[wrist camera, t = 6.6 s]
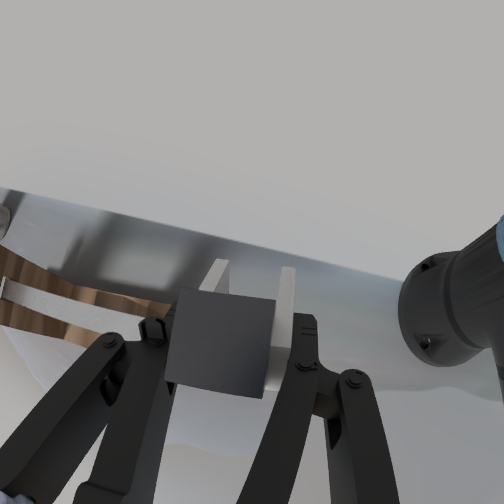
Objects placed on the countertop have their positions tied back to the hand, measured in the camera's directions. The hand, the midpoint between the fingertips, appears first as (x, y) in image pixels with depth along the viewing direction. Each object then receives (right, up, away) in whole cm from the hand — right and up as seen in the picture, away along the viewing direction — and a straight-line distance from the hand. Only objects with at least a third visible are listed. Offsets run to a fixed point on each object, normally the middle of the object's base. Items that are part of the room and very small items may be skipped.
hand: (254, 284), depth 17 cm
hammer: (-12, -4, +5) cm, 14 cm away
